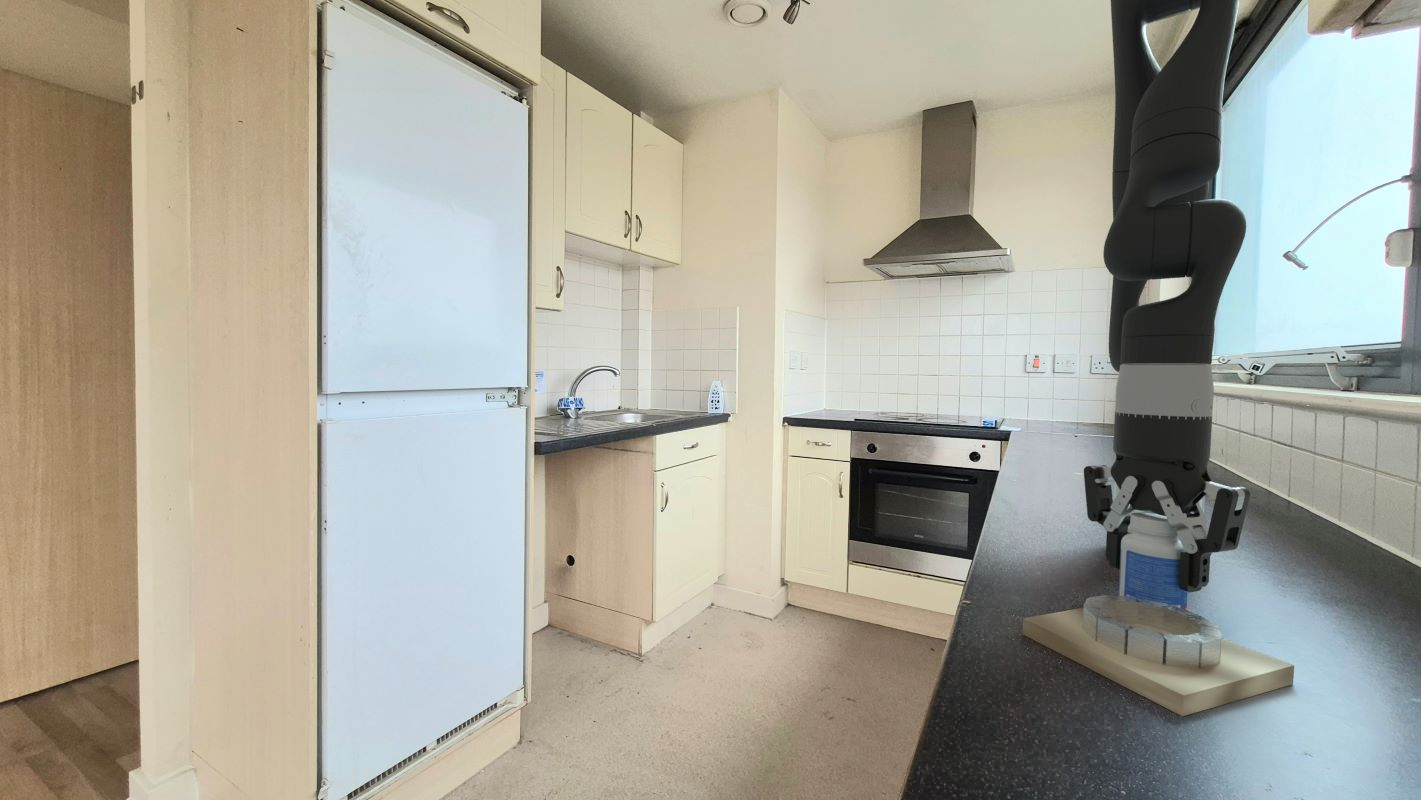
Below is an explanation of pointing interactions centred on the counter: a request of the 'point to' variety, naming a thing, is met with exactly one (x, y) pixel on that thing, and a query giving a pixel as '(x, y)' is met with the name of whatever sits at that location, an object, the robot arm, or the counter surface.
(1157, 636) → the steel collar
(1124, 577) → the pill bottle
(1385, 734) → the counter surface
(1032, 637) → the carrier plate
